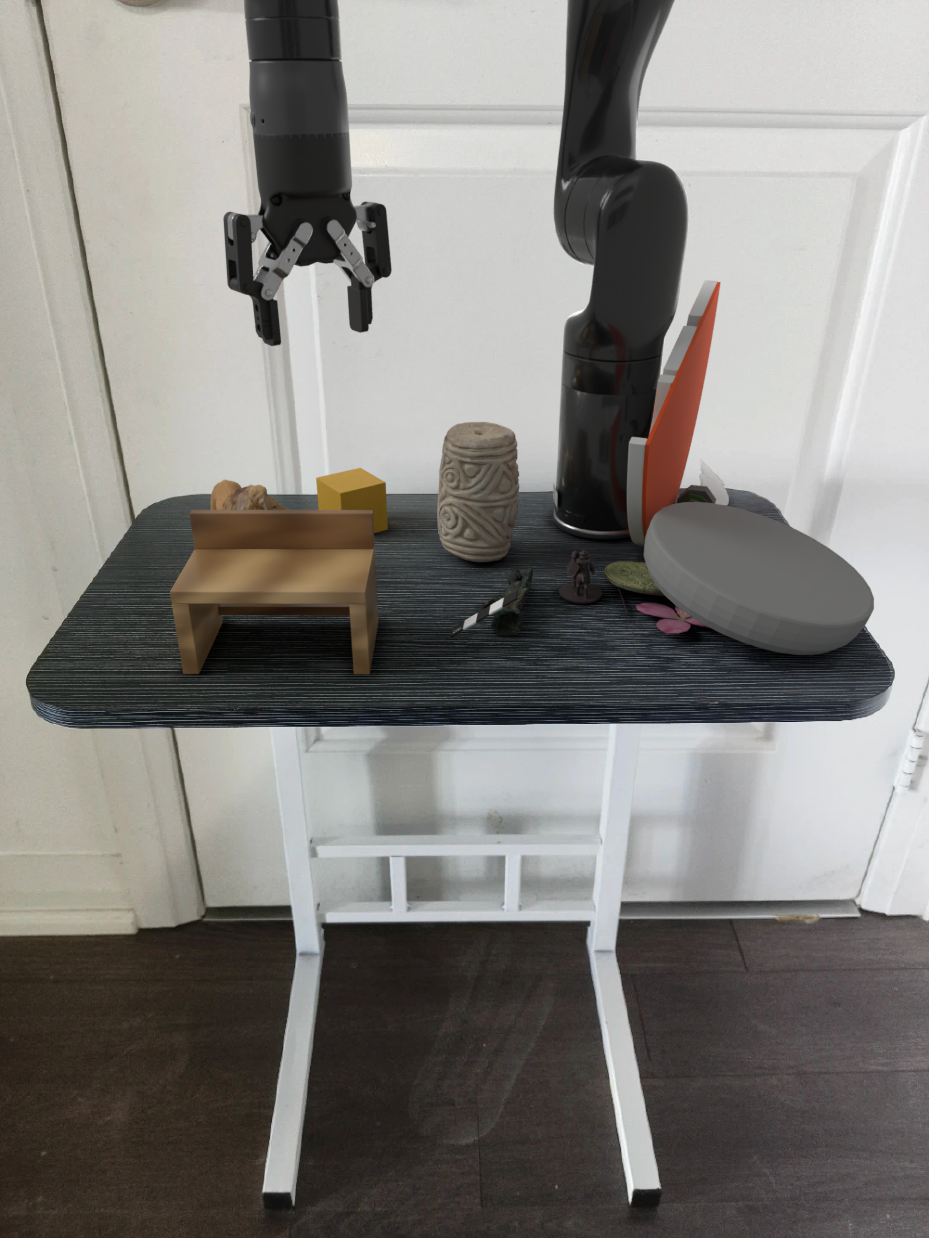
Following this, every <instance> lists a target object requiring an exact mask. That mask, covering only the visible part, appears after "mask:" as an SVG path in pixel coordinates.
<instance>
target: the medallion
mask: <svg viewBox="0 0 929 1238" xmlns="http://www.w3.org/2000/svg"><path fill="white" fill-rule="evenodd" d="M603 575H604V578H605V579H606V580H607V581H608V582H609V583H611V584H612V585H614V586H616V587H618V586H619V587H620V589H623V590H626V591H630V592H634V593H637V594H642V595H649V596H657V597H658V596H659V597H660V596H661V597H666V596H665V595H664V594H663V593H662V592H661V590H660V589H659V588H658V587H657V586H656V584H655V583H654V581H653V579H652V578H651V576H650V574H649V571H648V568H647V565H646V562H641V561H633V560H631V561H629V560H616V561H614V562H610V563H608V564H607V565H606V566H605V568H604V569H603Z"/></svg>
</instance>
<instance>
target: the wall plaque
mask: <svg viewBox="0 0 929 1238" xmlns="http://www.w3.org/2000/svg"><path fill="white" fill-rule="evenodd" d="M720 288H721V281H718V280H710V279H709V280H706V279H705V280H704V281H703V283H702V285H701V288H700V289H699V291H698V293H697V296H696V298H695V300H694V302H693V304H692V307H691V308H690V311H689V313H688V316H687V321H686V325H682V328H681V330H680V332H679V334H678V337H677V339H676V340H675V343H674V345H673V348H672V349H671V352H670V354H669V356H668V358H667V360H666V363H665V365H664V366H663V368H662V369H663V370H662V373H661V375H660V377H659V379H658V383H657V390H656V398H655V405H654V412H653V418H652V424H651V429H650V433H649V437H648V439H646V438H638V437H631V440H630V442H629V452H628V472H627V516H628V527H629V532H630V536H631V537H630V539H631V541H632V543H633V544H634V545H636V546H641V547H644V545H645V537H646V534H647V530H648V528H649V525H650V523H651V520H652V519H653V517H654V515H655V514H656V513H657V512H658V511H660V510H661V509H662V508H664V507H666V506H669V505H672V504H676V503H677V499H678V497H679V493H680V489H681V485H682V481H683V479H684V475H685V470H686V467H687V463H688V458H689V454H690V450H691V446H692V441H693V437H694V433H695V428H696V424H697V419H698V416H699V415H698V414H699V411H700V405H701V400H702V396H703V390H704V386H705V380H706V375H707V369H708V364H709V358H710V353H711V348H712V347H711V346H712V342H713V341H712V340H713V335H714V330H715V322H716V317H717V309H718V303H719V297H720Z"/></svg>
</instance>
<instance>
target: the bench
mask: <svg viewBox="0 0 929 1238" xmlns="http://www.w3.org/2000/svg"><path fill="white" fill-rule="evenodd" d="M189 520H190V521H189V522H190V527H191V534H192V541H193V547H194V550H193V551H192V554H191V555H190V557H189V558H188V560H187V562H186V563H185V566H184V567H183V569H182V570H181V572H180V574H179V575H178V577H177V579H176V581H175V582H174V584H173V586H172V587H171V589H170V591H169V594H170V595H169V596H170V601H171V607H172V614H173V619H174V626H175V631H176V632H175V633H176V638H177V642H178V643H177V644H178V649H179V656H180V661H181V665H182V666H181V667H182V673H183V675H200V674H201V671H202V668H203V667H204V664H205V662H206V660H207V657H208V655H209V653H210V651H211V649H212V647H213V645H214V642H215V640H216V637H217V635H218V633H219V631H220V629H221V627H222V624H223V616H349V621H350V637H351V653H352V663H353V664H352V668H353V669H352V670H353V675H370V674H371V669H372V663H373V657H374V651H375V645H376V638H377V632H378V628H379V627H378V626H379V609H378V608H379V607H378V588H377V570H376V569H377V567H376V550H375V533H374V525H373V510H319V509H289V510H211V509H191V510H190V512H189Z"/></svg>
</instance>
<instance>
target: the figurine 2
mask: <svg viewBox="0 0 929 1238" xmlns="http://www.w3.org/2000/svg"><path fill="white" fill-rule="evenodd" d="M590 555H591V554H590V552H589V551H588V550H585V549H584V548H583V549H582V550H581V551H580V552H579V551H578V550H573V551H572V553H571V556H570V558H571V559H570V561H569V562H568V564H567V568H566V569H567V570H566V574H567V576H570V582H568V583H565V584H563V585H561V586H560V588H559V589H558V590H559V591H558V594H559V596H560V597H561V598H562V599H563V600H565V601H567V602H570V603H572V604H573V603H574V604H581V605H582V604H584V605H585V604H592V603H595V602H597V601H600V599H602V597H603V590H602V589H601V588H600V587H599V586H598V585H595V584H594V583H592V582H591V577H590V576H591V575H592V576H594V575H595V574H596V569H595V565H594V564H593V562H592V559H591V556H590ZM590 573H591V575H590ZM617 589H618V593H619V596H620V598H621V601H622V604H623V607H624V611H625V613H626V615H627V616H629V611H628V609H627V605H626V603H625V600H624V596H623V594H622V591H621V587H619V586H617Z"/></svg>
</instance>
